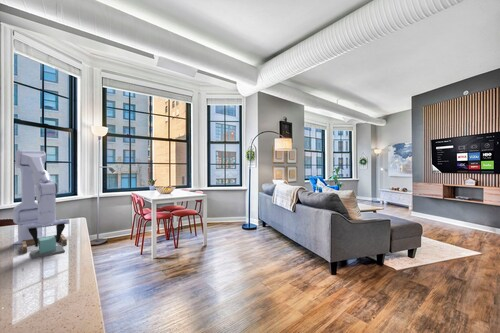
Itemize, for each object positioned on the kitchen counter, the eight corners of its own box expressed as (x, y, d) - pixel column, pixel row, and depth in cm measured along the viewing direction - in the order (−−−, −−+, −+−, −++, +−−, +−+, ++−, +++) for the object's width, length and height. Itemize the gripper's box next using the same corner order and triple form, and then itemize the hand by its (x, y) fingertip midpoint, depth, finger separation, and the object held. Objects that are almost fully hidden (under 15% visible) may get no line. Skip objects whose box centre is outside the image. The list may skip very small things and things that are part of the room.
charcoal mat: (30, 252, 99) (30, 250, 99) (61, 246, 106) (61, 244, 106) (32, 259, 92) (32, 257, 92) (64, 252, 99) (64, 250, 99)
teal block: (38, 250, 99) (38, 238, 99) (54, 247, 103) (54, 235, 103) (40, 253, 96) (39, 241, 96) (56, 250, 99) (55, 238, 99)
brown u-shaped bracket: (21, 246, 108) (21, 240, 108) (62, 238, 118) (62, 233, 118) (23, 253, 98) (22, 247, 98) (66, 244, 108) (66, 239, 108)
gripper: (23, 215, 91) (23, 251, 91) (70, 210, 101) (70, 242, 101) (22, 213, 96) (23, 246, 96) (67, 208, 106) (67, 238, 106)
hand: (47, 244), depth 99 cm, fingers open, 6 cm apart
